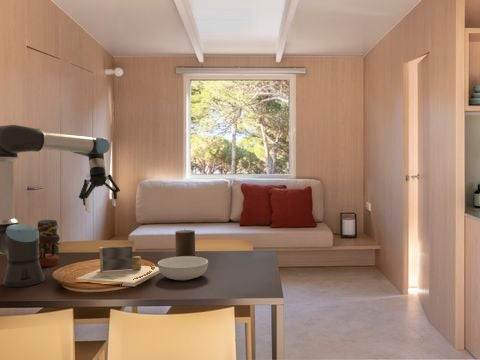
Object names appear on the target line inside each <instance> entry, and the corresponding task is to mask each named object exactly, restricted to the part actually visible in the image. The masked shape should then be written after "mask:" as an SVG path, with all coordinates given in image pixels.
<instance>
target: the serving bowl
mask: <svg viewBox="0 0 480 360" xmlns="http://www.w3.org/2000/svg"><path fill="white" fill-rule="evenodd" d="M157 267H158V268H159V271H160V273H159V274H161V275H162V276H164V277H165V278H167V279H171V280H173V281H174V280H175V281H188V280H193V279H195V278H199V277H200V276H202V275H203V274H205V272H206V271H207V269H208V267H209V260H208V259H207V258H204V257H200V256H195V257H194V256H181V257H176V256H172V257H166V258H163V259H160V260H159V261H158V262H157Z"/></svg>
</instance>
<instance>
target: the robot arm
mask: <svg viewBox="0 0 480 360" xmlns="http://www.w3.org/2000/svg"><path fill="white" fill-rule="evenodd" d="M110 146H111V144H110V142H109V140H108V139H107V138H106V137H93V136H83V135H75V134H66V133H65V134H64V133H57V132H50V131H49V132H48V131H47V132H46V131H44V130H42V129H40V128H34V127H29V126H24V125H17V124H7V125H0V255H5V256H7V267H6V271H5V275H4V278H3V286H5V287H7V288H21V287H29V286H34V285H39V284H40V283H42V282H45V273H44V272H43V270H42V267H41V266H40V263H39V245H38V243H39V231H38V230H37V229H38V227H36V226H35V225H34V224H26V223H19V220H18V219H17V218H16V217H15V216H16V215H15V173H14V172H15V170H14V169H15V168H14V167H15V166H14V164H15V163H14V162H15V161H16V160H17V159H18V153H25V152H27V153H28V152H38V153H39V152H40V151H42V150H43V151H57V152H60V151H61V152H70V153H73V154H77V155H81V156H85V157H88V164H89V165H88V166H89V179H84V181H83V185H82V188H81V190H80V193H79V195H78V198H79V199H80V200H82V204H83V206H84V209H85V212H87V213H89V212H90V205H89V203H90V202H89V197H90V195H91V193H92V192H93V190H94V189H95V188H98V187H103V186H105V187H106V188H108V189H109V190H110V191H112V192H111V204H112V206H113V207H116V206H117V203H116V201H117V199H118V192H121V190H120V188H119V186H118V184H117V183H116V182H115V180H114V179H113V178H114V177H113V175H112V174H109V173H108V175H106V166H105V164H106V163H105V155H104V154H106V153H108V152H109V150H110ZM107 180H109V182H110V183H111V184H112V186H113V187H114V188H113V187H111V186H110V185H109V184H108V183H107Z"/></svg>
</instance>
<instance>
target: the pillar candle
mask: <svg viewBox="0 0 480 360" xmlns="http://www.w3.org/2000/svg"><path fill="white" fill-rule="evenodd" d="M181 256H194V257H196V231H195V230H194V229H183V230H181V229H180V230H175V257H181Z"/></svg>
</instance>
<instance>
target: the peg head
mask: <svg viewBox="0 0 480 360" xmlns="http://www.w3.org/2000/svg"><path fill="white" fill-rule="evenodd" d="M98 250H99V269H100V272H103V271H114V270H130V269H133V270H138V269H141V266H142V257H141V256H137V255H136V256H133V255H134V254H133V251H134V250H133V245H122V246H121V245H120V246H100V247H98Z"/></svg>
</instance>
